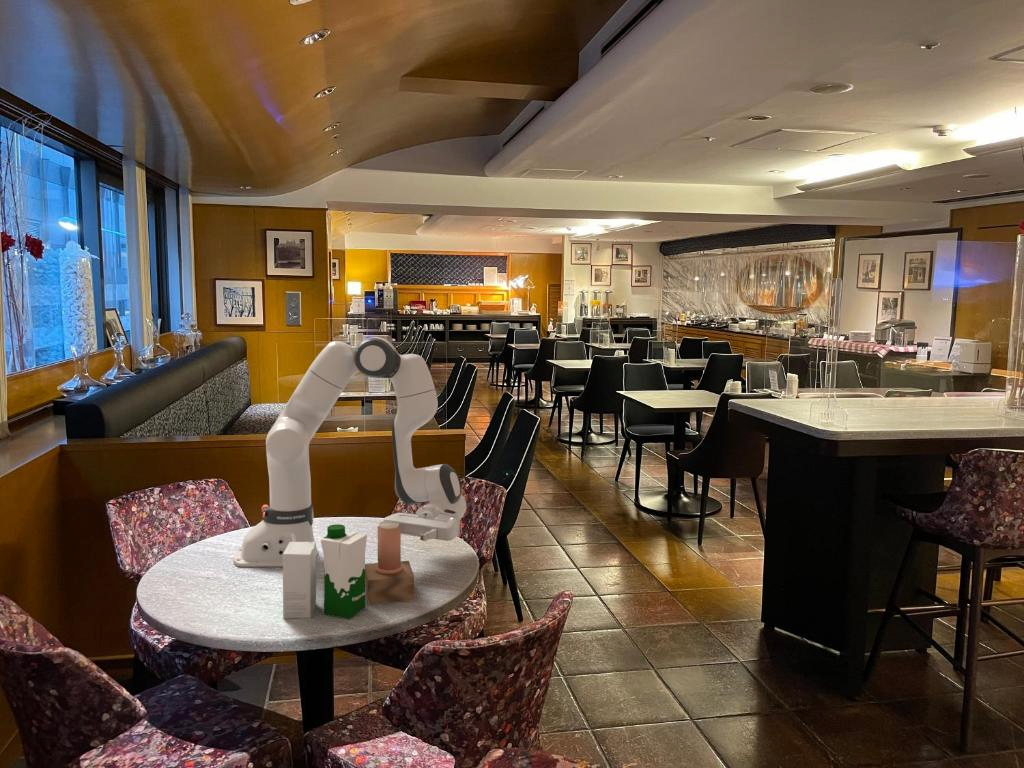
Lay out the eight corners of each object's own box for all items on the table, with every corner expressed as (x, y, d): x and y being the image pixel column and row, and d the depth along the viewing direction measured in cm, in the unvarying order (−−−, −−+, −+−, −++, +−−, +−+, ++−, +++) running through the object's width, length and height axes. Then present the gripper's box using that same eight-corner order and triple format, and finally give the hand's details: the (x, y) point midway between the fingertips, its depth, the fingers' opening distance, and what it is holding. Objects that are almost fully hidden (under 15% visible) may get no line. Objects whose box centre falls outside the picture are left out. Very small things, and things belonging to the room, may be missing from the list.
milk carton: (339, 600, 180) (338, 520, 178) (371, 606, 177) (371, 525, 175) (317, 615, 172) (316, 531, 169) (351, 621, 169) (350, 536, 166)
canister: (376, 575, 180) (376, 528, 179) (374, 566, 187) (374, 520, 185) (404, 573, 182) (404, 526, 181) (401, 564, 188) (401, 518, 187)
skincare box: (290, 604, 178) (288, 541, 176) (318, 603, 178) (317, 540, 176) (282, 619, 169) (280, 553, 168) (312, 619, 170) (310, 553, 168)
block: (368, 604, 178) (368, 580, 178) (365, 586, 189) (364, 563, 188) (414, 600, 181) (414, 576, 180) (408, 583, 192) (408, 560, 191)
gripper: (397, 504, 207) (371, 518, 195) (464, 513, 200) (441, 528, 187) (397, 526, 208) (371, 541, 195) (464, 536, 201) (441, 552, 188)
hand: (406, 535), depth 191 cm, fingers open, 8 cm apart
